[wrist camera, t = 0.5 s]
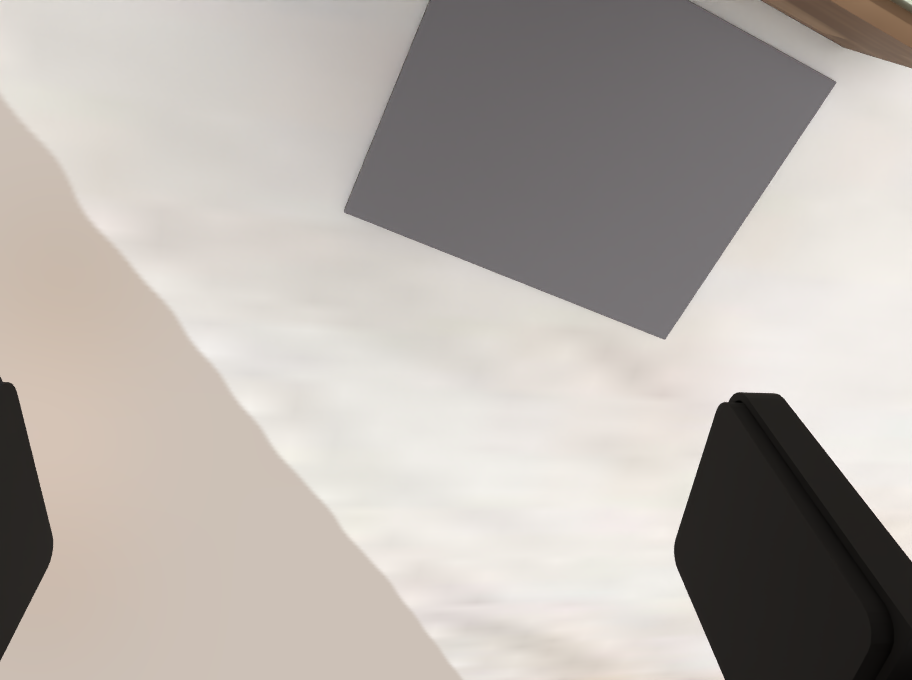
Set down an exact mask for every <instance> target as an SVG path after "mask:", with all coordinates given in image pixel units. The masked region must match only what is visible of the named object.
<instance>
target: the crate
mask: <svg viewBox="0 0 912 680" xmlns="http://www.w3.org/2000/svg"><path fill="white" fill-rule="evenodd" d="M761 1H763V2H765V3H767V4H768V5H770V6H772V7H774V8H775V9H777V10H779V11H781V12H782V13H784V14H786V15H788V16H789V17H791V18H793V19H795V20H796V21H798V22H800V23H802V24H804V25H805V26H807V27H809V28H811V29H812V30H814V31H816V32H818V33H819V34H821V35H823V36H825V37H826V38H828V39H830V40H832V41H833V42H835V43H837V44H839V45H840V46H842V47H844V48H847V49H850V50H854V51H857V52H860V53H864V54H867V55H870V56H873V57H877V58H880V59H883V60H886V61H890V62H893V63H896V64H899V65H903V66H906V67H909V68H912V13H911V12H909V11H907V10H906V9H904V8H902V7H901V6H899V5H897V4H896V3H894V2H892V1H891V0H761Z"/></svg>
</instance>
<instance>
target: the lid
mask: <svg viewBox="0 0 912 680" xmlns="http://www.w3.org/2000/svg"><path fill="white" fill-rule="evenodd" d="M891 1H892V2H894V3H896V4H897V5H899V6H901V7H902V8H904V9H906V10H907V11H909V12H911V13H912V0H891Z"/></svg>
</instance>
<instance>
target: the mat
mask: <svg viewBox="0 0 912 680" xmlns="http://www.w3.org/2000/svg"><path fill="white" fill-rule="evenodd" d="M835 84H836V82H835V81H834V80H832V79H830V78H828V77H826V76H825V75H823V74H821V73H819V72H817V71H815V70H814V69H812V68H810V67H808V66H806V65H805V64H803V63H801V62H799V61H797V60H796V59H794V58H792V57H790V56H788V55H786V54H785V53H783V52H781V51H779V50H777V49H776V48H774V47H772V46H770V45H768V44H766V43H765V42H763V41H761V40H759V39H757V38H756V37H754V36H752V35H750V34H748V33H746V32H745V31H743V30H741V29H739V28H737V27H736V26H734V25H732V24H730V23H728V22H727V21H725V20H723V19H721V18H719V17H717V16H716V15H714V14H712V13H710V12H708V11H707V10H705V9H703V8H701V7H699V6H697V5H696V4H694V3H692V2H690V1H688V0H430V1H429V4H428V6H427V8H426V11H425V13H424V16H423V18H422V21H421V23H420V26H419V28H418V30H417V33H416V35H415V38H414V40H413V43H412V45H411V48H410V50H409V53H408V55H407V57H406V60H405V62H404V65H403V67H402V70H401V72H400V75H399V77H398V80H397V82H396V84H395V87H394V89H393V92H392V94H391V97H390V99H389V102H388V104H387V106H386V109H385V111H384V114H383V116H382V119H381V121H380V124H379V126H378V129H377V131H376V133H375V136H374V138H373V141H372V143H371V146H370V148H369V151H368V153H367V155H366V158H365V160H364V163H363V165H362V168H361V170H360V173H359V175H358V178H357V180H356V182H355V185H354V187H353V190H352V192H351V195H350V197H349V200H348V202H347V205H346V207H345V209H344V212H345V213H347V214H350V215H352V216H355V217H357V218H360V219H362V220H365V221H367V222H370V223H372V224H375V225H377V226H380V227H382V228H385V229H387V230H390V231H393V232H395V233H398V234H400V235H403V236H405V237H408V238H410V239H413V240H415V241H418V242H420V243H423V244H425V245H428V246H430V247H433V248H435V249H438V250H440V251H443V252H445V253H448V254H450V255H453V256H455V257H458V258H460V259H463V260H466V261H468V262H471V263H473V264H476V265H478V266H481V267H483V268H486V269H488V270H491V271H493V272H496V273H498V274H501V275H503V276H506V277H508V278H511V279H513V280H516V281H518V282H521V283H523V284H526V285H528V286H531V287H533V288H536V289H539V290H541V291H544V292H546V293H549V294H551V295H554V296H556V297H559V298H561V299H564V300H566V301H569V302H571V303H574V304H576V305H579V306H581V307H584V308H586V309H589V310H591V311H594V312H596V313H599V314H601V315H604V316H606V317H609V318H612V319H614V320H617V321H619V322H622V323H624V324H627V325H629V326H632V327H634V328H637V329H639V330H642V331H644V332H647V333H649V334H652V335H654V336H657V337H659V338H662V339H664V340H665V339H666V337H667V336H668V334H669V333H670V331H671V330H672V328H673V327H674V325H675V324H676V322H677V321H678V319H679V318H680V316H681V315H682V313H683V312H684V310H685V309H686V307H687V306H688V304H689V303H690V301H691V300H692V298H693V297H694V295H695V294H696V292H697V291H698V289H699V288H700V286H701V285H702V283H703V282H704V280H705V279H706V277H707V276H708V274H709V273H710V271H711V270H712V268H713V267H714V265H715V264H716V262H717V261H718V259H719V258H720V256H721V255H722V253H723V252H724V250H725V249H726V247H727V246H728V244H729V243H730V241H731V240H732V238H733V237H734V235H735V234H736V232H737V231H738V229H739V228H740V226H741V225H742V223H743V222H744V220H745V219H746V217H747V216H748V214H749V213H750V211H751V210H752V208H753V207H754V205H755V204H756V202H757V201H758V199H759V198H760V196H761V195H762V193H763V192H764V190H765V189H766V187H767V186H768V184H769V183H770V181H771V180H772V178H773V177H774V175H775V174H776V172H777V171H778V169H779V168H780V166H781V165H782V163H783V162H784V160H785V159H786V157H787V156H788V154H789V153H790V151H791V150H792V148H793V147H794V145H795V144H796V142H797V141H798V139H799V138H800V136H801V135H802V133H803V132H804V130H805V129H806V127H807V126H808V124H809V123H810V121H811V120H812V118H813V117H814V115H815V114H816V112H817V111H818V109H819V108H820V106H821V105H822V103H823V102H824V100H825V99H826V97H827V96H828V94H829V93H830V91H831V90H832V88H833V87H834V85H835Z"/></svg>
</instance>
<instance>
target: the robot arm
mask: <svg viewBox="0 0 912 680" xmlns="http://www.w3.org/2000/svg"><path fill="white" fill-rule="evenodd" d="M52 551H53V536H52V532H51V528H50V524H49V520H48V516H47V512H46V507H45V503H44V499H43V495H42V491H41V487H40V483H39V479H38V475H37V471H36V467H35V463H34V459H33V455H32V451H31V447H30V443H29V439H28V435H27V431H26V427H25V423H24V419H23V415H22V411H21V407H20V403H19V399H18V395H17V391H16V389H15V387H14V386H13V384H11V383H9V382H2V379H1V377H0V660H1V658H2V656H3V654H4V652H5V651H6V649H7V646H8V645H9V643H10V641H11V639H12V637H13V635H14V633H15V630H16V629H17V627H18V625H19V623H20V621H21V619H22V617H23V615H24V613H25V611H26V609H27V607H28V605H29V603H30V601H31V599H32V597H33V595H34V593H35V591H36V589H37V587H38V585H39V583H40V582H41V580H42V578H43V576H44V574H45V572H46V569H47V568H48V565H49V563H50V560H51V556H52ZM674 556H675V562H676V566H677V569H678V571H679V573H680V576H681V578H682V580H683V583H684V585H685V587H686V590H687V592H688V594H689V597H690V599H691V601H692V604H693V606H694V608H695V611H696V613H697V615H698V618H699V620H700V622H701V625H702V627H703V629H704V632H705V634H706V636H707V639H708V641H709V643H710V646H711V648H712V650H713V653H714V655H715V657H716V660H717V662H718V664H719V667H720V669H721V671H722V674H723V676H724V678H725V680H912V562H911V560H910V559H909V558H908V556H907V555H906V554H905V553H904V551H903V550H902V549H901V548H900V546H899V545H898V544H897V542H896V541H895V540H894V539H893V537H892V536H891V535H890V533H889V532H888V531H887V530H886V528H885V527H884V526H883V525H882V523H881V522H880V521H879V519H878V518H877V517H876V516H875V514H874V513H873V512H872V510H871V509H870V508H869V507H868V505H867V504H866V503H865V502H864V500H863V499H862V498H861V496H860V495H859V494H858V493H857V491H856V490H855V489H854V488H853V486H852V485H851V484H850V482H849V481H848V480H847V479H846V477H845V476H844V475H843V473H842V472H841V471H840V470H839V468H838V467H837V466H836V465H835V463H834V462H833V461H832V459H831V458H830V457H829V456H828V454H827V453H826V452H825V450H824V449H823V448H822V447H821V445H820V444H819V443H818V442H817V440H816V439H815V438H814V436H813V435H812V434H811V433H810V431H809V430H808V429H807V427H806V426H805V425H804V424H803V422H802V421H801V420H800V419H799V417H798V416H797V415H796V413H795V412H794V411H793V410H792V408H791V407H790V406H789V405H788V403H787V402H786V401H785V399H784V398H783V397H781V396H780V395H779V394H775V393H743V392H738V393H736V394H734V395H733V396H732V397H731V398H730V400H729V402H724V403H721V404H720V405H719V406H718V408H717V411H716V413H715V417H714V420H713V423H712V426H711V429H710V432H709V436H708V439H707V442H706V445H705V448H704V451H703V454H702V458H701V461H700V464H699V467H698V470H697V473H696V477H695V480H694V483H693V486H692V489H691V492H690V495H689V499H688V502H687V505H686V508H685V511H684V514H683V518H682V521H681V524H680V527H679V530H678V533H677V536H676V540H675V545H674Z"/></svg>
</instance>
